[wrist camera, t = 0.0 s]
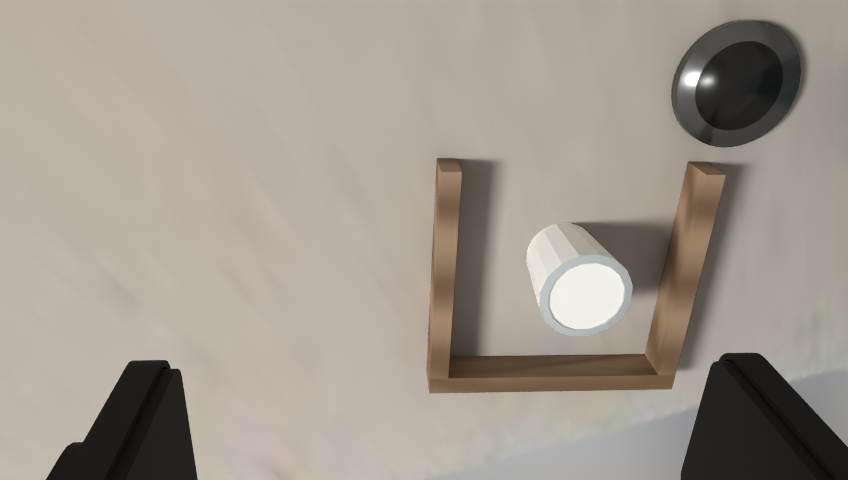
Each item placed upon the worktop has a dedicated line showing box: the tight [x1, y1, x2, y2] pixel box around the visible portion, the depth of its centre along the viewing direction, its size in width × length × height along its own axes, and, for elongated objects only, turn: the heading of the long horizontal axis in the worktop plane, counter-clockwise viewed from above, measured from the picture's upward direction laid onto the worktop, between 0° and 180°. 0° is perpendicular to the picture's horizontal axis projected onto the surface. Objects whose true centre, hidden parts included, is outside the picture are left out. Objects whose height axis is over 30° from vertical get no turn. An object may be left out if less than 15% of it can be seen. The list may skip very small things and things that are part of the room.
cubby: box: [427, 158, 726, 393], centre depth 51 cm, size 20×21×3 cm
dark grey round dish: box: [671, 20, 801, 147], centre depth 46 cm, size 9×9×1 cm
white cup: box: [527, 223, 633, 337], centre depth 49 cm, size 7×7×7 cm
